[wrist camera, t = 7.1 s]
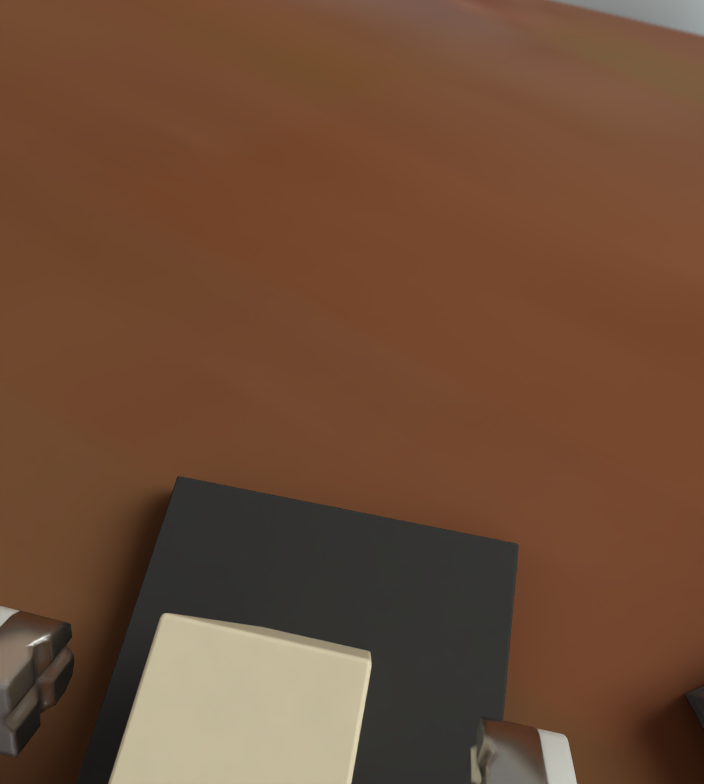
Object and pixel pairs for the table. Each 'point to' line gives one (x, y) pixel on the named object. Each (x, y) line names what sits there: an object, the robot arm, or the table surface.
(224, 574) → the loose pad
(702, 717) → the grey shallow rectangular tray
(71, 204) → the table surface
